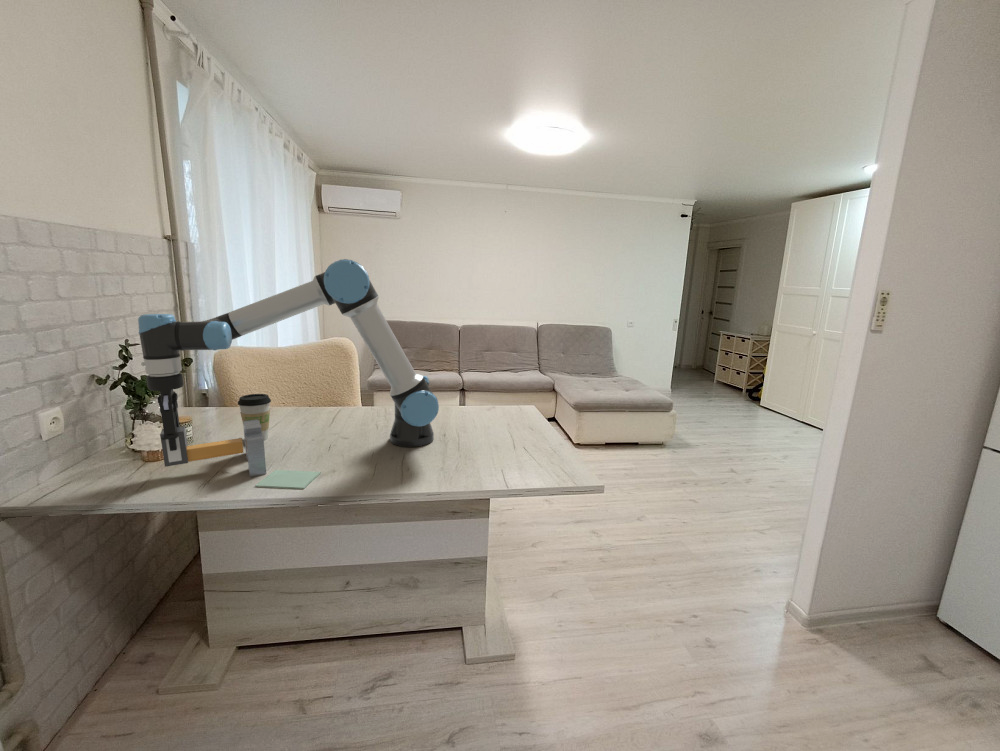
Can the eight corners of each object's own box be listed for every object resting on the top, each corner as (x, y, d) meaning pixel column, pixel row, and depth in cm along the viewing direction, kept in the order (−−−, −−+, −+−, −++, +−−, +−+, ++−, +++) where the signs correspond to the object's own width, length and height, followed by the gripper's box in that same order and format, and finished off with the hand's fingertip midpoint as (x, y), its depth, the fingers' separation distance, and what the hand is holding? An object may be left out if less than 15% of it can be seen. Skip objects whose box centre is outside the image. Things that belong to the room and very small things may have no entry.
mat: (320, 473, 122) (320, 471, 122) (303, 489, 112) (303, 487, 112) (275, 471, 123) (275, 469, 123) (255, 486, 113) (255, 485, 113)
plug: (242, 448, 127) (239, 419, 125) (243, 453, 123) (240, 423, 121) (166, 460, 118) (162, 429, 116) (164, 466, 114) (160, 434, 112)
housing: (260, 450, 137) (257, 414, 135) (266, 473, 121) (263, 433, 118) (245, 452, 135) (242, 416, 133) (249, 476, 119) (246, 435, 116)
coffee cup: (259, 445, 142) (255, 401, 139) (233, 442, 143) (229, 399, 140) (280, 435, 151) (277, 394, 148) (255, 433, 153) (252, 392, 150)
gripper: (150, 369, 117) (162, 449, 122) (140, 381, 103) (155, 472, 107) (184, 366, 121) (194, 444, 126) (179, 378, 107) (191, 466, 111)
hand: (176, 457), depth 117 cm, fingers closed on plug, 5 cm apart
